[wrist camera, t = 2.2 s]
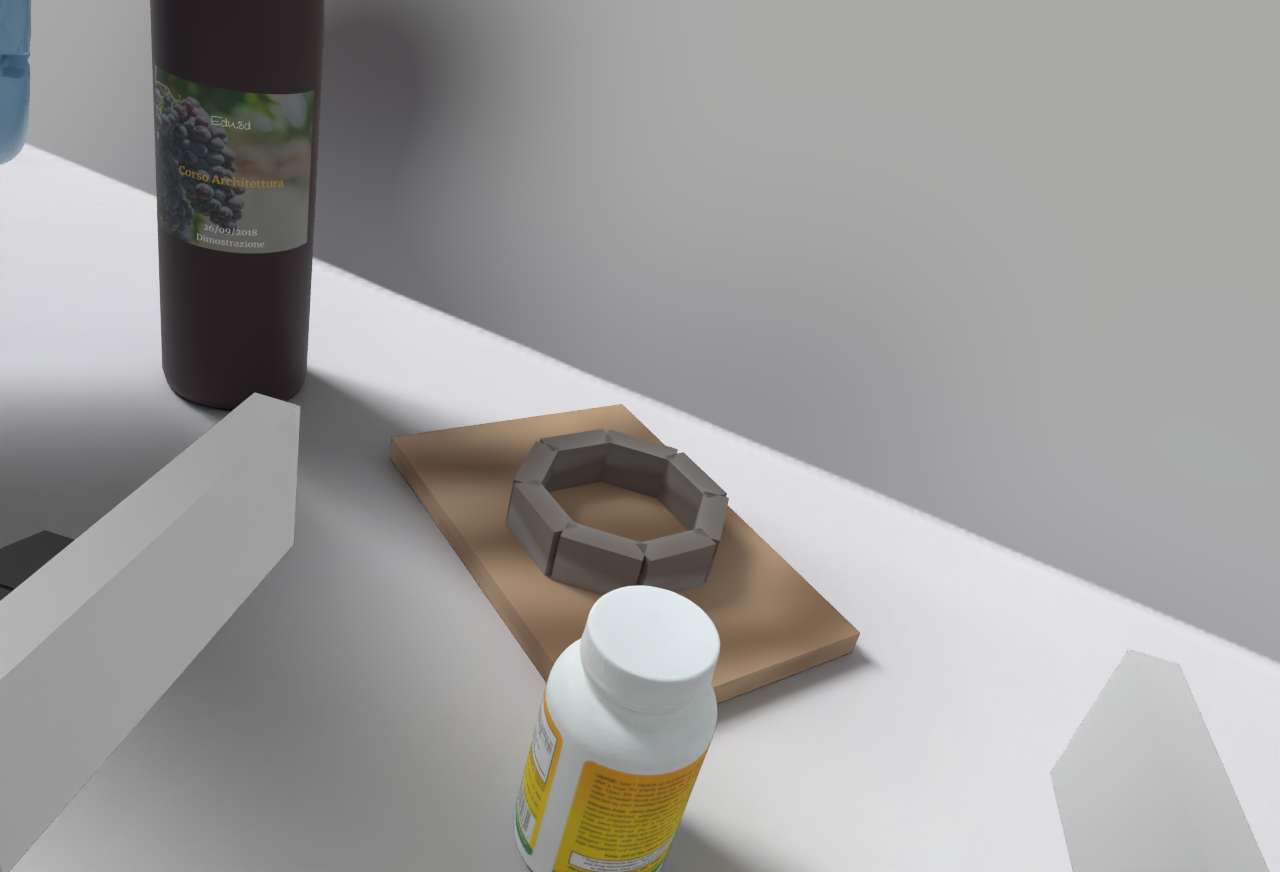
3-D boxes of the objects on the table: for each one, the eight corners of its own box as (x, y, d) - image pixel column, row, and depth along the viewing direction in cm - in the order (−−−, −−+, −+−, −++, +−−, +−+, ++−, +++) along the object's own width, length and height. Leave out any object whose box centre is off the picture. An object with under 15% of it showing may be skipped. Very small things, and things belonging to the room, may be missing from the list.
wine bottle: (133, 390, 49) (96, -347, 34) (208, 335, 56) (204, -311, 40) (267, 427, 49) (288, -296, 34) (327, 368, 55) (368, -268, 40)
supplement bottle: (478, 828, 33) (523, 614, 28) (584, 746, 37) (641, 546, 32) (596, 942, 30) (669, 730, 25) (697, 841, 34) (776, 641, 29)
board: (389, 457, 49) (396, 395, 48) (617, 421, 57) (630, 368, 56) (594, 750, 37) (614, 682, 35) (851, 652, 45) (878, 592, 43)
